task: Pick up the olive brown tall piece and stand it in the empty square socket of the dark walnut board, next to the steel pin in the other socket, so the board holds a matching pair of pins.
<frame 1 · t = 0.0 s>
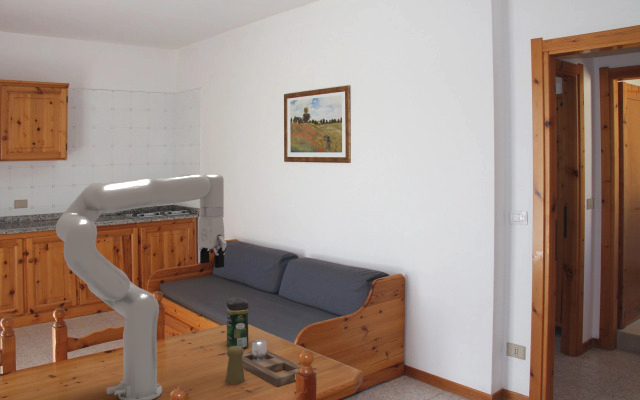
hand: (211, 265, 177), 37 cm above the table, tool pointing down, fingers open, 9 cm apart
olive brown tall piece: (235, 381, 176), on the table
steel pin: (259, 364, 191), resting in socket board
coffee jar: (237, 346, 210), on the table
socket board: (269, 369, 186), on the table
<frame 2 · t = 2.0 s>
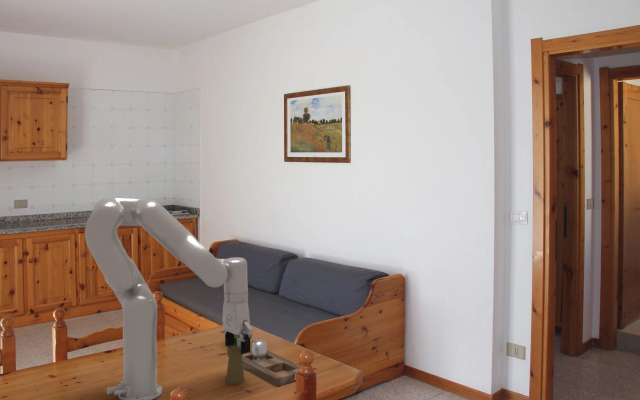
hand: (237, 348, 176), 10 cm above the table, tool pointing down, fingers open, 9 cm apart
nothing on the table moved.
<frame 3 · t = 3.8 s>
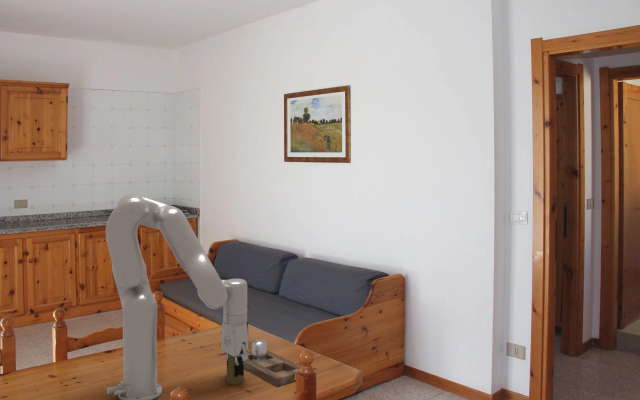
hand: (235, 373, 176), 2 cm above the table, tool pointing down, fingers closed on olive brown tall piece, 4 cm apart
olive brown tall piece: (235, 381, 176), on the table, touching gripper
everything else where it was.
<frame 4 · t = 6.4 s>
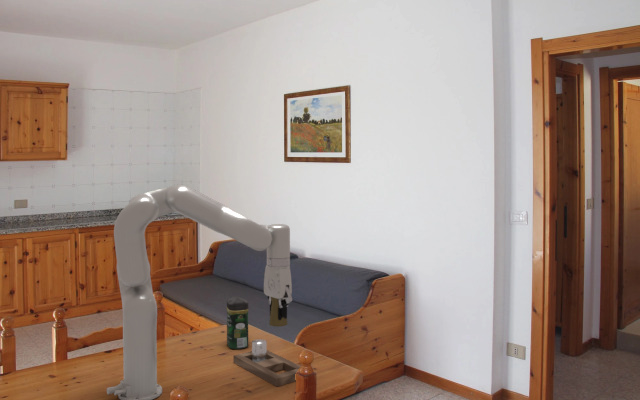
hand: (278, 317, 179), 20 cm above the table, tool pointing down, fingers closed on olive brown tall piece, 4 cm apart
olive brown tall piece: (278, 324, 179), point 17 cm above the table, touching gripper
everything else where it was.
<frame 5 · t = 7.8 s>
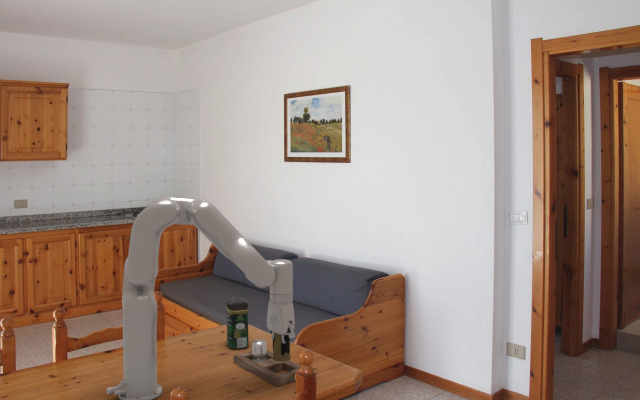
hand: (281, 351, 180), 8 cm above the table, tool pointing down, fingers closed on olive brown tall piece, 4 cm apart
olive brown tall piece: (281, 359, 180), point 6 cm above the table, touching gripper
everything else where it was.
when the fingers open (4 cm above the table, at t = 8.9 s): olive brown tall piece drops 1 cm, resting in socket board.
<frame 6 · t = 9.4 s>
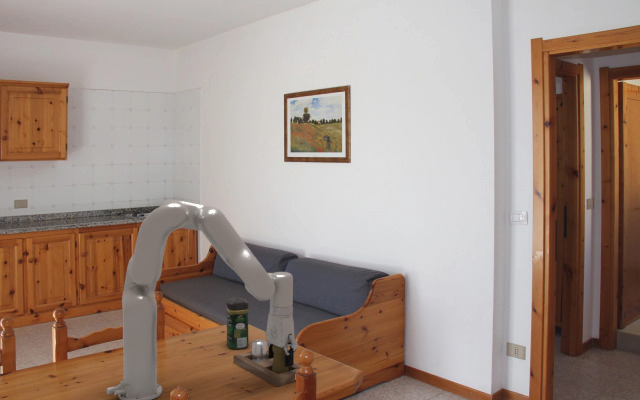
hand: (280, 361, 180), 5 cm above the table, tool pointing down, fingers open, 8 cm apart
olive brown tall piece: (280, 376, 181), resting in socket board
everything else where it was.
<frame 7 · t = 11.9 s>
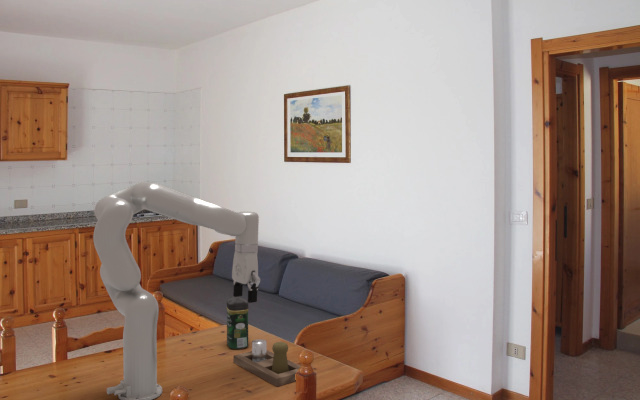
hand: (244, 299, 184), 24 cm above the table, tool pointing down, fingers open, 9 cm apart
nothing on the table moved.
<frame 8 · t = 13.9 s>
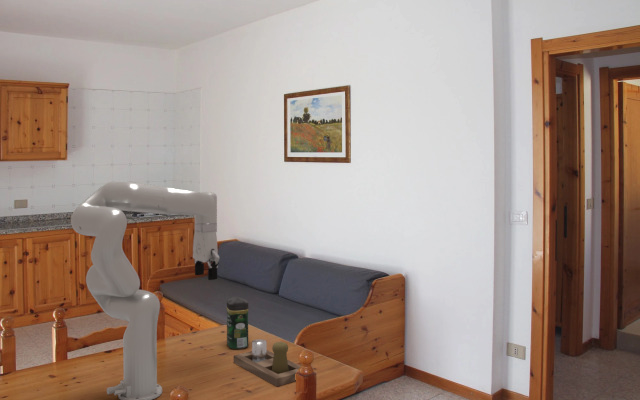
hand: (205, 277, 190), 30 cm above the table, tool pointing down, fingers open, 9 cm apart
nothing on the table moved.
at the end: olive brown tall piece 0.2 cm from the target spot on the socket board, point 0.0 cm above the socket board's base; olive brown tall piece tilted 0°; the gripper is holding nothing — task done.
